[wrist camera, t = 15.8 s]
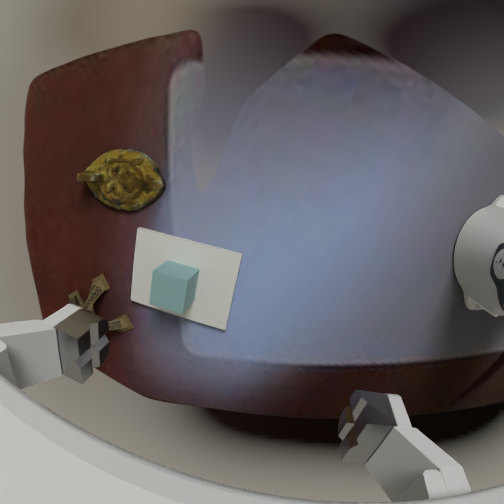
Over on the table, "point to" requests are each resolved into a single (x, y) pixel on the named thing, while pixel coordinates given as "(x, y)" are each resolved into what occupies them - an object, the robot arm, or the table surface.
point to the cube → (173, 286)
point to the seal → (124, 179)
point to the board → (194, 255)
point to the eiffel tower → (95, 291)
